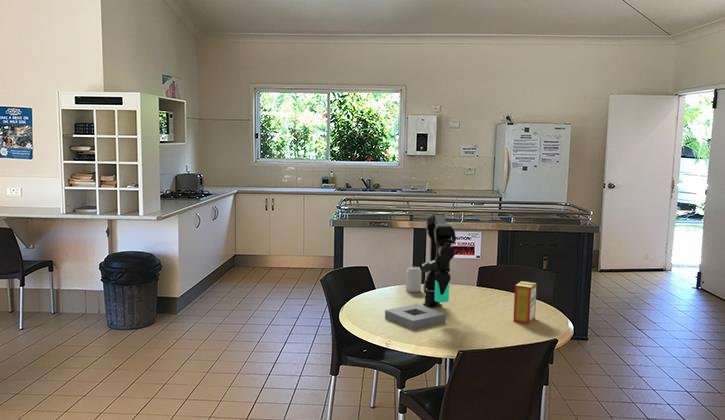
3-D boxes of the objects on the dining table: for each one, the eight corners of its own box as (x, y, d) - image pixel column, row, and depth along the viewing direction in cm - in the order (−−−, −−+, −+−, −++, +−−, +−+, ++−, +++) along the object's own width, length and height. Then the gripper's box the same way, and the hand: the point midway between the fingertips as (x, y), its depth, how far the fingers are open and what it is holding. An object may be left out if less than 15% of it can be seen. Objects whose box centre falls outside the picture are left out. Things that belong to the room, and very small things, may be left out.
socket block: (416, 311, 260) (417, 304, 259) (445, 322, 245) (445, 314, 245) (384, 318, 249) (385, 310, 249) (412, 329, 235) (412, 320, 234)
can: (420, 293, 292) (420, 269, 291) (405, 292, 294) (405, 268, 292) (421, 289, 299) (422, 266, 298) (407, 288, 301) (407, 265, 300)
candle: (447, 298, 247) (448, 270, 246) (450, 302, 241) (451, 273, 240) (433, 298, 247) (434, 270, 245) (435, 302, 241) (436, 273, 240)
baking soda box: (528, 324, 245) (530, 286, 243) (513, 321, 248) (515, 284, 246) (534, 318, 253) (536, 282, 251) (519, 316, 256) (521, 280, 254)
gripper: (424, 250, 252) (423, 285, 254) (422, 259, 234) (421, 297, 236) (450, 251, 251) (449, 287, 253) (451, 260, 232) (449, 298, 234)
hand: (441, 292), depth 244 cm, fingers closed on candle, 7 cm apart
